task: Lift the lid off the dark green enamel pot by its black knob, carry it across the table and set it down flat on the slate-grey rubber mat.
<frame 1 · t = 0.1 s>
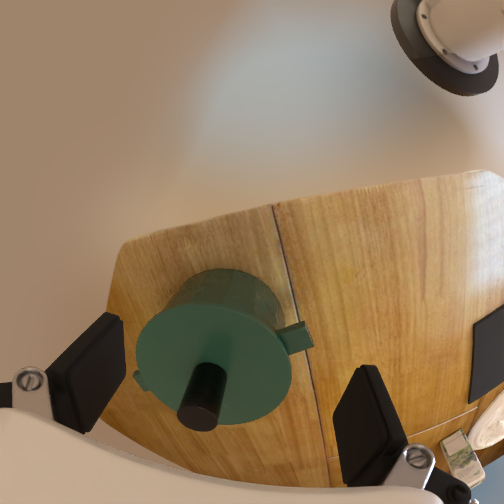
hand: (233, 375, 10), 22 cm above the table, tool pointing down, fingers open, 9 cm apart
lid: (211, 371, 25), point 9 cm above the table, touching pot
pot: (226, 321, 34), on the table
syrup box: (450, 438, 40), on the table
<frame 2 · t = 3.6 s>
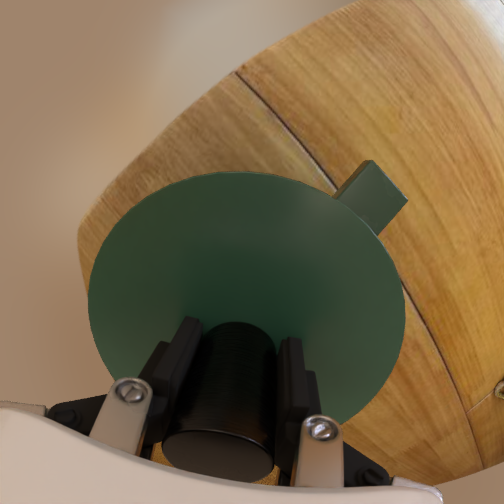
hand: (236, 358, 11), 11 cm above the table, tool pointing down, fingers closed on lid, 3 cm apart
lid: (239, 345, 12), point 10 cm above the table, touching gripper, pot
pot: (253, 271, 21), on the table
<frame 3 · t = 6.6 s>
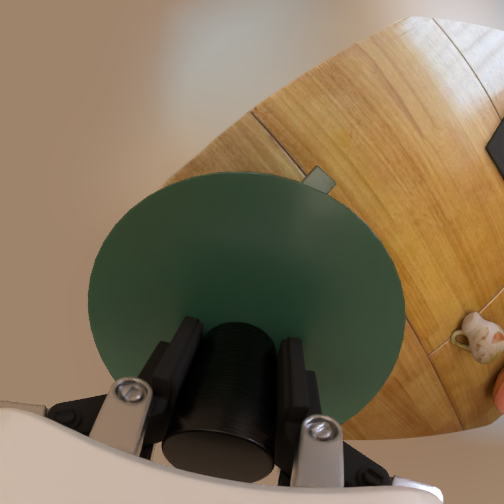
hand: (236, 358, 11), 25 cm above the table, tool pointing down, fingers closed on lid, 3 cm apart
mug: (471, 328, 37), on the table
lid: (239, 345, 12), point 24 cm above the table, touching gripper
pot: (261, 231, 35), on the table
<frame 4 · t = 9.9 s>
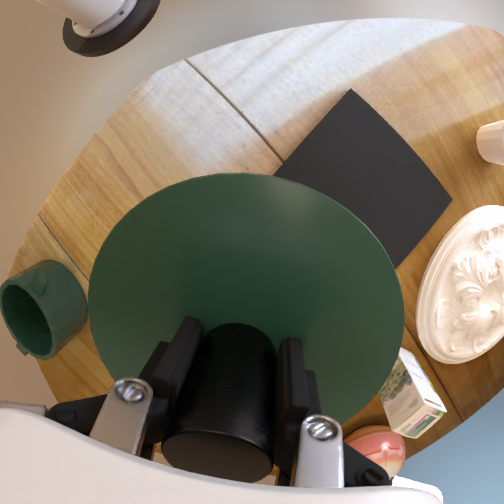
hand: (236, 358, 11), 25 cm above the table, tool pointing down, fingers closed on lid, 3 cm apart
vase: (364, 434, 45), on the table
lid: (239, 346, 12), point 24 cm above the table, touching gripper
white lidded cup: (487, 143, 29), on the table
pot: (58, 297, 41), on the table
syrup box: (389, 358, 40), on the table
mat: (359, 200, 34), on the table
ceiling medallion: (482, 290, 35), on the table
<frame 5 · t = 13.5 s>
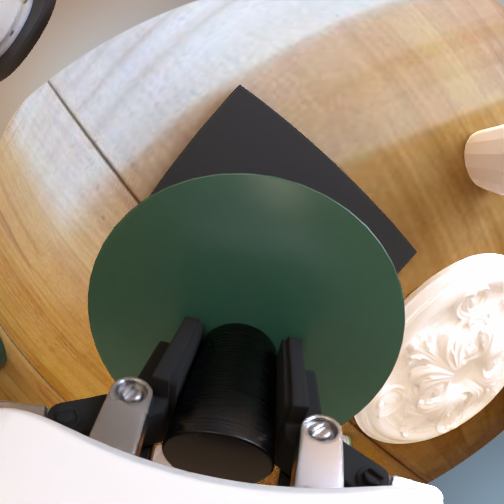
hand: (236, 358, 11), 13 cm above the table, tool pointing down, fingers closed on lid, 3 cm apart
mug: (182, 456, 33), on the table
lid: (239, 346, 12), point 12 cm above the table, touching gripper
white lidded cup: (482, 159, 20), on the table
mat: (254, 259, 24), on the table
ceiling medallion: (456, 364, 26), on the table
when the fingers open (2 cm above the table, at t = 16.1 s): lid stays where it is, resting on mat.
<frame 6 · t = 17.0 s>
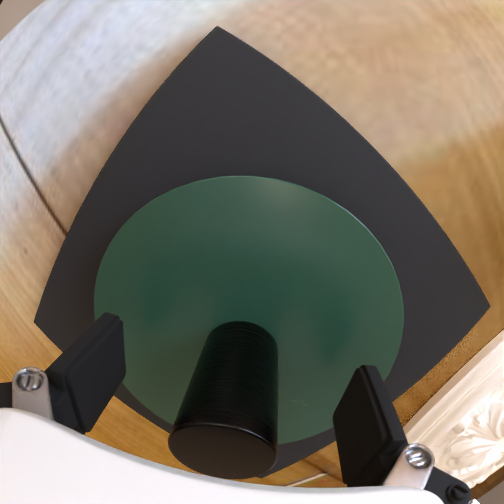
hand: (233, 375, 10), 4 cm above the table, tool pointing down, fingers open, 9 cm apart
lid: (242, 344, 13), point 1 cm above the table, touching mat
mat: (244, 328, 14), on the table
ceiling medallion: (497, 422, 16), on the table
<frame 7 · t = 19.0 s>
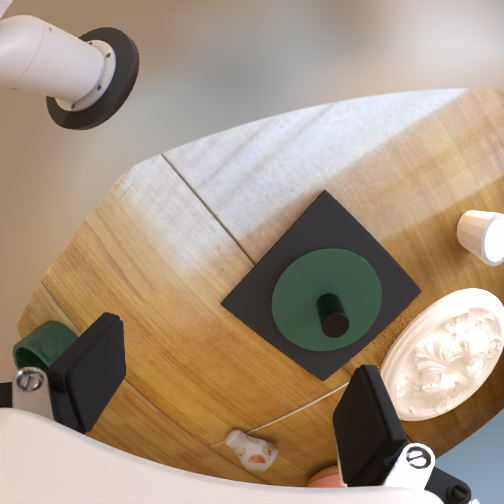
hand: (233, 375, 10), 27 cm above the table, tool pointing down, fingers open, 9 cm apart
vase: (333, 470, 48), on the table
mug: (249, 438, 46), on the table
lid: (327, 302, 36), point 1 cm above the table, touching mat
white lidded cup: (469, 229, 33), on the table
pot: (64, 350, 45), on the table
mat: (326, 298, 37), on the table
ceiling medallion: (448, 362, 39), on the table
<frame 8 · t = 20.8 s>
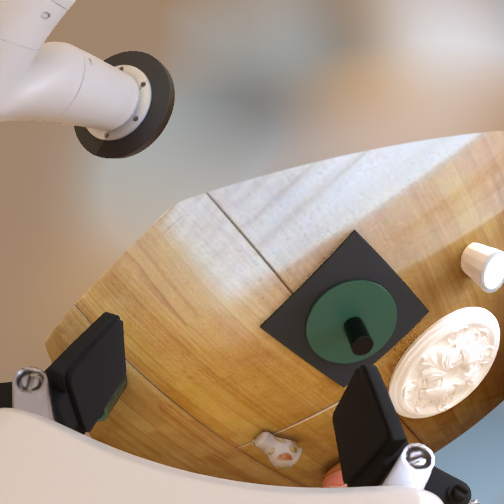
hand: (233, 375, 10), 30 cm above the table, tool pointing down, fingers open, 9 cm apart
vase: (347, 463, 54), on the table
mug: (275, 438, 52), on the table
lid: (352, 323, 41), point 1 cm above the table, touching mat
white lidded cup: (471, 258, 38), on the table
pot: (98, 368, 50), on the table
mat: (350, 319, 42), on the table
ceiling medallion: (448, 367, 44), on the table
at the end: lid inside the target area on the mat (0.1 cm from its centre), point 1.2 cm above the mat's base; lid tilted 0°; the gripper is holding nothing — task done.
